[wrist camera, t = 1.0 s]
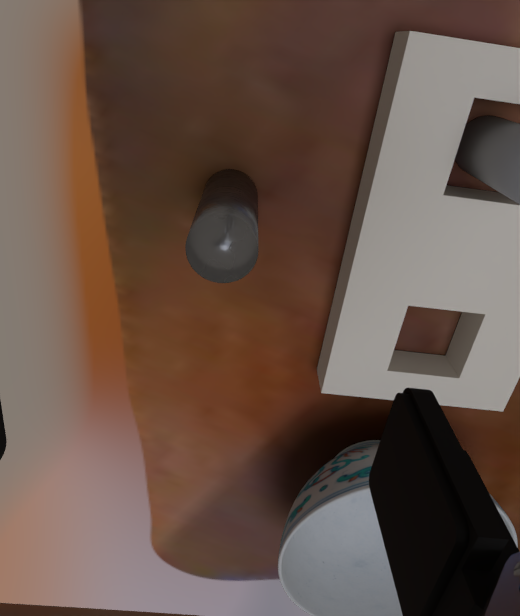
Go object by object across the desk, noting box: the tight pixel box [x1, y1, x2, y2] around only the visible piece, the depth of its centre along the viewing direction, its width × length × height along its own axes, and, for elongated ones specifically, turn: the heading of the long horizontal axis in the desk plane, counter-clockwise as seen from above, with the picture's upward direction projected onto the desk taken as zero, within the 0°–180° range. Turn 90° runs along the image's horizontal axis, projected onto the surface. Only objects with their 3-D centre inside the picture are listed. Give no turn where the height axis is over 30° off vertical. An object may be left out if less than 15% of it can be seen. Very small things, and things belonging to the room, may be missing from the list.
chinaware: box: [278, 440, 518, 616], centre depth 34 cm, size 15×15×8 cm
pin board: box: [317, 31, 520, 411], centre depth 25 cm, size 20×12×8 cm, turn 172°
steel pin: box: [186, 169, 258, 283], centre depth 24 cm, size 3×3×8 cm
